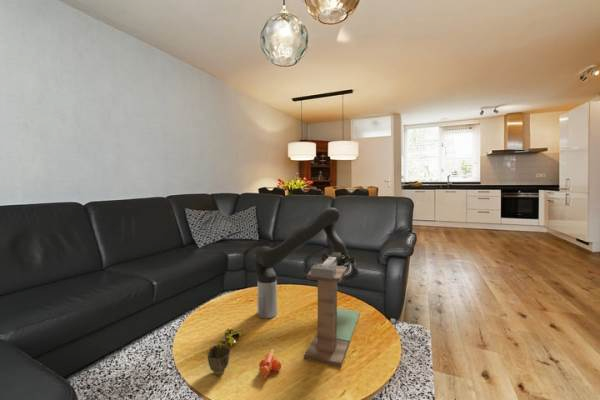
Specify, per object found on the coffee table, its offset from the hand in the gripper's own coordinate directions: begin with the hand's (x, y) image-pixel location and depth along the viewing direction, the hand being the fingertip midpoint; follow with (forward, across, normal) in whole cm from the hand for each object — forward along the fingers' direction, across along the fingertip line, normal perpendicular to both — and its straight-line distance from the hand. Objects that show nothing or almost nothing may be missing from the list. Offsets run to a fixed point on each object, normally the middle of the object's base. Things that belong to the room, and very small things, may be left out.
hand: (335, 256), depth 119 cm
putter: (+6, 0, +6) cm, 9 cm away
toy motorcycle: (0, -39, +40) cm, 56 cm away
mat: (-26, 0, +24) cm, 36 cm away
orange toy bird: (+8, -16, +45) cm, 48 cm away
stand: (-6, 0, +36) cm, 36 cm away
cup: (+15, -32, +48) cm, 60 cm away
